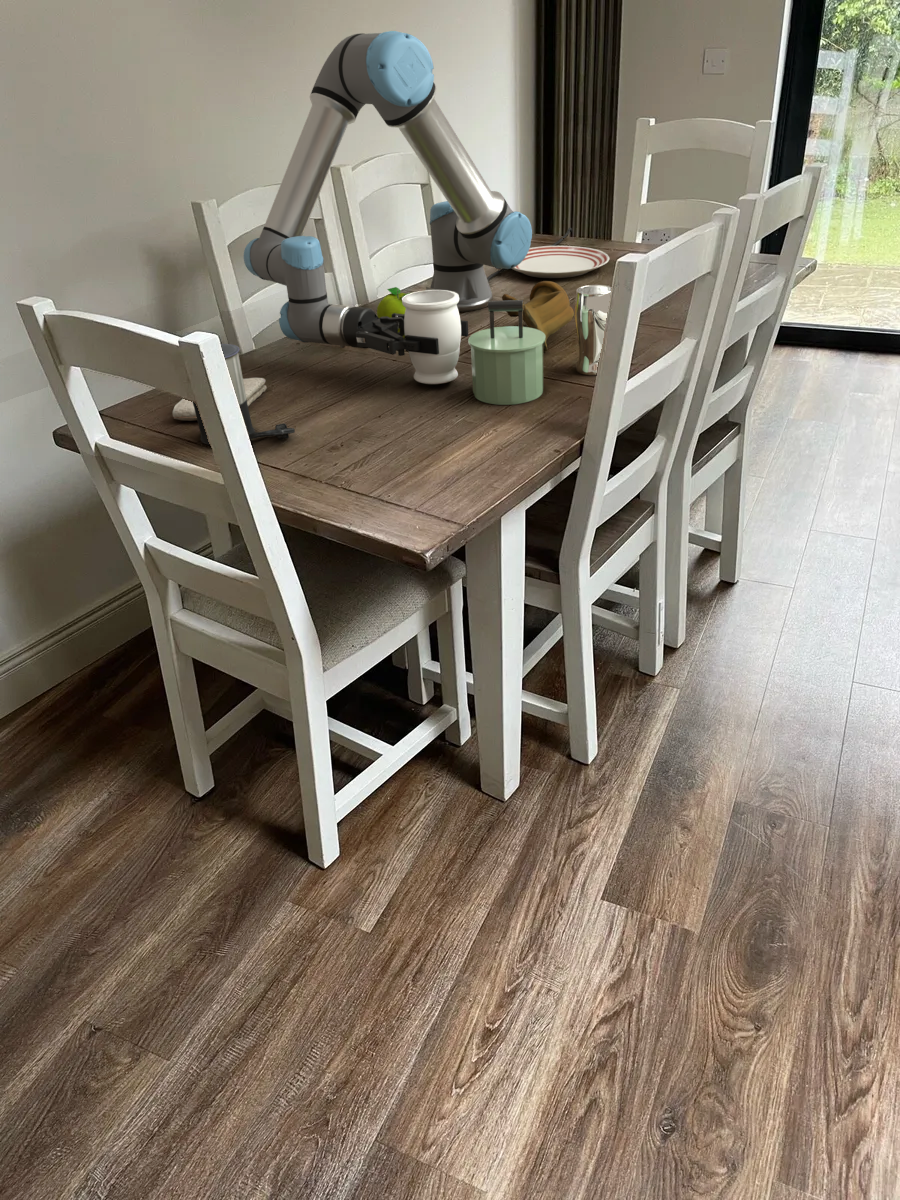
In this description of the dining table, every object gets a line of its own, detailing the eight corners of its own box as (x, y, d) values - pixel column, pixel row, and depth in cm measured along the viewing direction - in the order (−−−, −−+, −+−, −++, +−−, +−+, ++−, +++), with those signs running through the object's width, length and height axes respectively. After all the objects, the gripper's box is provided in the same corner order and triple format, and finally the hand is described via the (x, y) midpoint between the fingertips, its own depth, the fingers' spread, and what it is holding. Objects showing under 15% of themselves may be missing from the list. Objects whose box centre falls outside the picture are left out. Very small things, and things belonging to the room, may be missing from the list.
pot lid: (474, 332, 170) (472, 291, 166) (548, 331, 168) (548, 289, 164) (463, 356, 159) (460, 312, 155) (542, 355, 157) (542, 311, 153)
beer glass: (589, 361, 179) (591, 282, 171) (618, 368, 175) (622, 287, 167) (566, 371, 176) (567, 290, 167) (596, 378, 171) (598, 296, 163)
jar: (400, 374, 177) (393, 294, 169) (450, 364, 180) (445, 285, 172) (420, 391, 168) (414, 307, 160) (472, 380, 172) (468, 298, 163)
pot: (478, 380, 174) (476, 330, 169) (545, 380, 172) (545, 329, 167) (469, 404, 164) (466, 352, 159) (540, 404, 162) (539, 351, 157)
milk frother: (201, 430, 162) (182, 346, 154) (291, 417, 164) (277, 334, 156) (201, 462, 150) (181, 373, 142) (298, 448, 152) (284, 359, 144)
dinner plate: (629, 264, 242) (630, 251, 240) (565, 288, 226) (565, 274, 224) (547, 253, 259) (547, 241, 257) (482, 275, 243) (481, 262, 241)
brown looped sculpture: (459, 312, 188) (523, 269, 199) (483, 371, 193) (544, 326, 205) (525, 295, 174) (590, 251, 185) (549, 359, 179) (610, 312, 191)
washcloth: (269, 388, 178) (267, 373, 176) (235, 424, 163) (232, 407, 161) (211, 388, 180) (208, 373, 178) (173, 424, 165) (169, 407, 163)
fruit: (408, 327, 206) (404, 281, 201) (430, 336, 200) (427, 289, 194) (372, 336, 202) (367, 290, 197) (394, 346, 196) (389, 298, 190)
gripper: (386, 329, 188) (482, 339, 178) (319, 364, 171) (422, 377, 162) (382, 291, 184) (481, 300, 174) (314, 323, 167) (419, 335, 158)
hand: (452, 337), depth 168 cm, fingers closed on jar, 10 cm apart
